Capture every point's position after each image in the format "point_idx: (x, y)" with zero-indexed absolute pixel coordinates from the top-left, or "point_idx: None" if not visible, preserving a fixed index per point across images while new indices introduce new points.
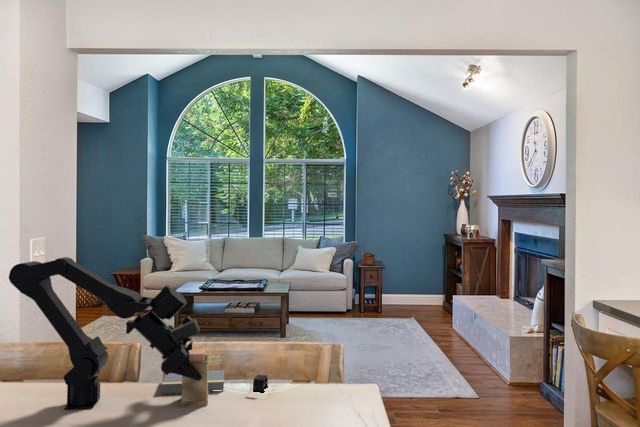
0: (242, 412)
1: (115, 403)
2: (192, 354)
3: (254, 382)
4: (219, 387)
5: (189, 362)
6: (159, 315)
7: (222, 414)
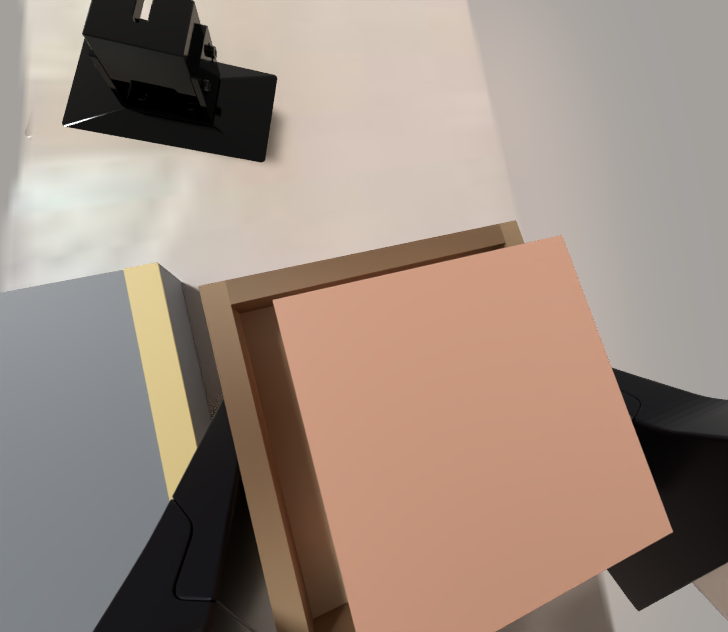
0: (428, 154)
1: None
2: (631, 434)
3: (193, 71)
4: (176, 297)
5: (695, 397)
6: None
7: (460, 225)
